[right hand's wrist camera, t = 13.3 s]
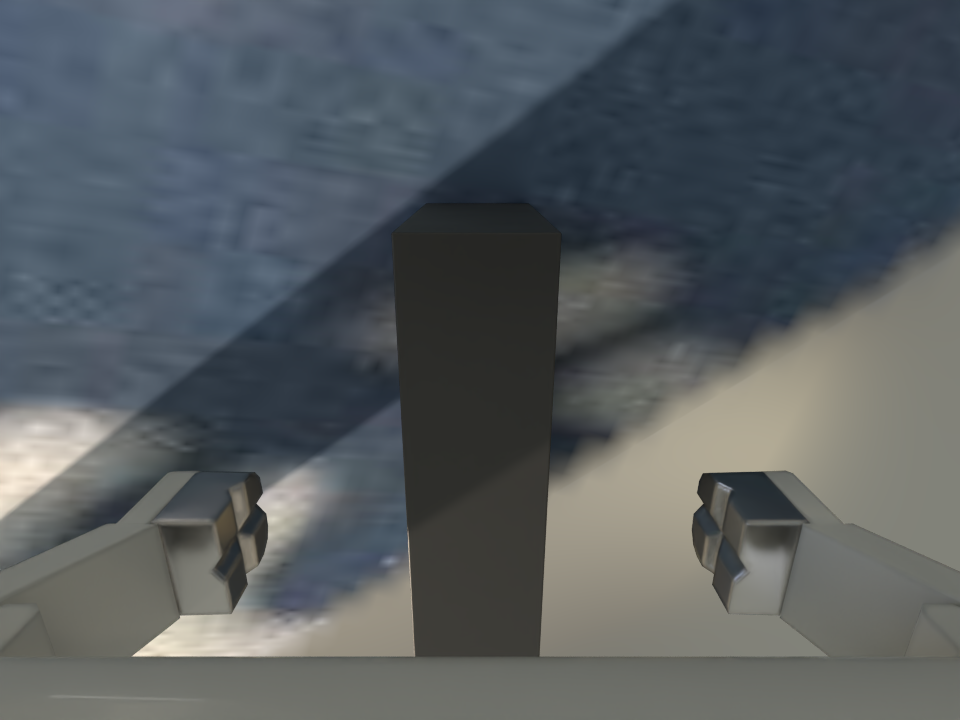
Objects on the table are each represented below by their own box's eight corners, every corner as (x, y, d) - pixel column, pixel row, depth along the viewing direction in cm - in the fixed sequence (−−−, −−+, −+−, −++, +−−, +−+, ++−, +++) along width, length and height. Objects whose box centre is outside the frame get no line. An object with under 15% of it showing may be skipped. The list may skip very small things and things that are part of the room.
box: (425, 203, 31) (391, 232, 19) (529, 203, 31) (561, 232, 19) (435, 514, 38) (415, 682, 26) (519, 514, 38) (538, 682, 26)
